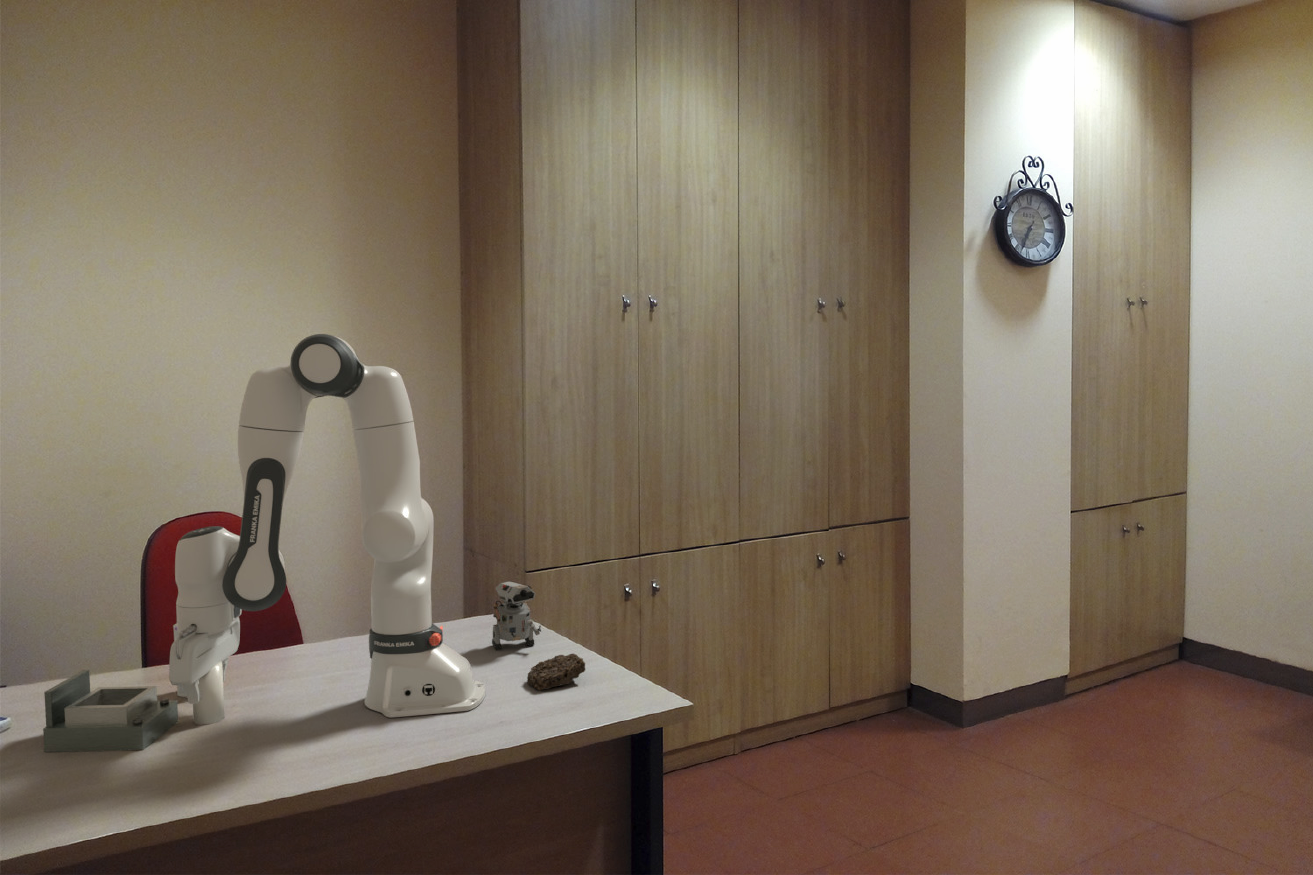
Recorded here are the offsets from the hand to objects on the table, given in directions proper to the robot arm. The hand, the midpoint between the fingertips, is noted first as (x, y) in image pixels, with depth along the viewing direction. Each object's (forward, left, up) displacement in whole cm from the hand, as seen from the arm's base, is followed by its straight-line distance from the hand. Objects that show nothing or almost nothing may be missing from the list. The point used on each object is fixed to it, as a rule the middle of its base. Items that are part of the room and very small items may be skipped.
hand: (207, 692), depth 163 cm
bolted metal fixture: (+13, +7, -5) cm, 15 cm away
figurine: (-51, -39, -5) cm, 65 cm away
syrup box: (+8, -14, -5) cm, 17 cm away
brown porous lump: (-62, -17, -5) cm, 64 cm away
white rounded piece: (+1, 0, -5) cm, 5 cm away
